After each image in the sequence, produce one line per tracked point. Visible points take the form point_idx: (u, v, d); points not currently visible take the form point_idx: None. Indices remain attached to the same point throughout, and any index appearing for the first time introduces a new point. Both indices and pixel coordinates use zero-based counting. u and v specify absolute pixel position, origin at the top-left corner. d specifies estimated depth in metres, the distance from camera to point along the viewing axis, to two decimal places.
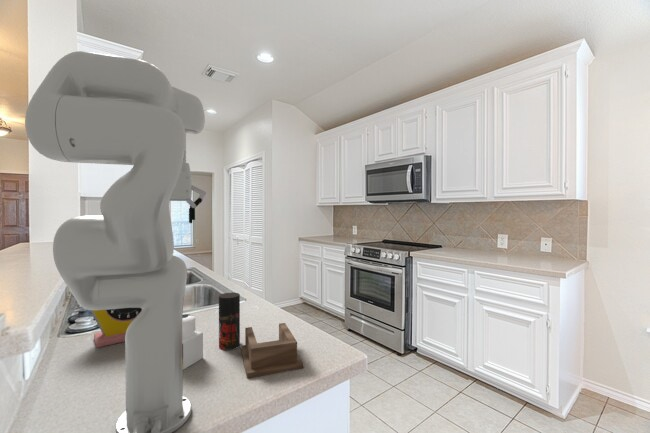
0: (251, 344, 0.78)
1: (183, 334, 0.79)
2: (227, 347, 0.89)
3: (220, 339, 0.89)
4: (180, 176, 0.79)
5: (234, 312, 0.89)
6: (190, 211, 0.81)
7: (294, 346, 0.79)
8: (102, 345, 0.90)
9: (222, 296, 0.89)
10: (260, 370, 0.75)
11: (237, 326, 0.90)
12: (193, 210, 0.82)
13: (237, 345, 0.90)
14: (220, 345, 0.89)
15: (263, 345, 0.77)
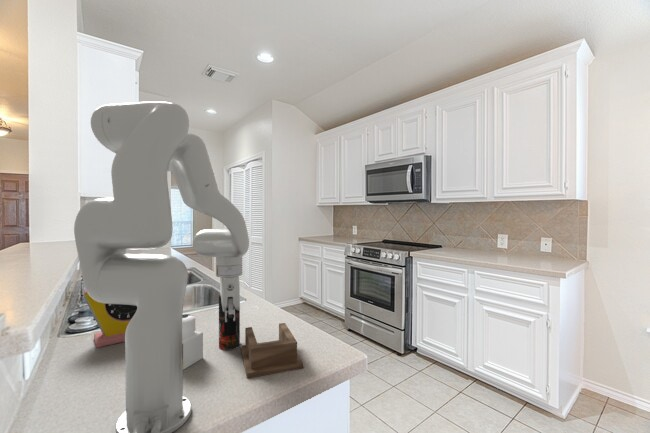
0: (251, 344, 0.78)
1: (183, 334, 0.79)
2: (227, 347, 0.89)
3: (220, 339, 0.89)
4: None
5: None
6: None
7: (294, 346, 0.79)
8: (102, 345, 0.90)
9: None
10: (260, 370, 0.75)
11: (237, 326, 0.90)
12: None
13: (237, 345, 0.90)
14: (220, 345, 0.89)
15: (263, 345, 0.77)
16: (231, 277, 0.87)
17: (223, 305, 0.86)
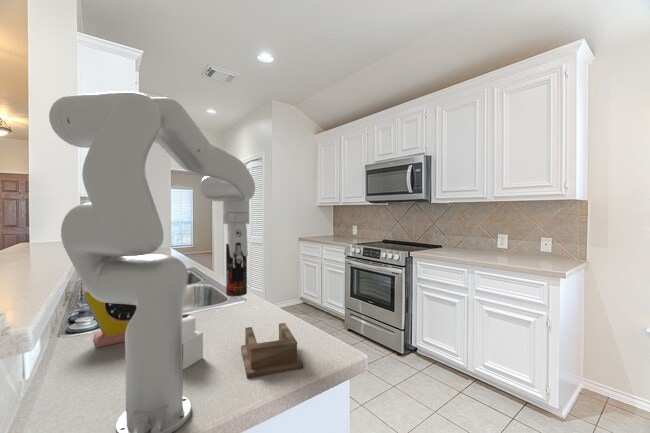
0: (251, 344, 0.78)
1: (183, 334, 0.79)
2: (235, 293, 0.90)
3: (228, 286, 0.90)
4: None
5: None
6: None
7: (294, 346, 0.79)
8: (102, 345, 0.90)
9: None
10: (260, 370, 0.75)
11: (244, 274, 0.91)
12: None
13: (244, 292, 0.92)
14: (228, 292, 0.90)
15: (263, 345, 0.77)
16: (239, 224, 0.88)
17: (231, 251, 0.87)
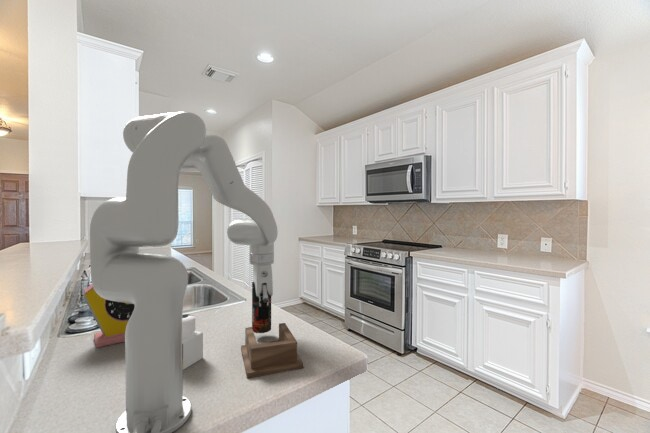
0: (251, 344, 0.78)
1: (183, 334, 0.79)
2: (260, 330, 0.94)
3: (254, 323, 0.95)
4: None
5: None
6: None
7: (294, 346, 0.79)
8: (102, 345, 0.90)
9: None
10: (260, 370, 0.75)
11: (269, 311, 0.96)
12: None
13: (269, 329, 0.96)
14: (254, 329, 0.95)
15: (263, 345, 0.77)
16: (265, 264, 0.93)
17: (258, 290, 0.92)
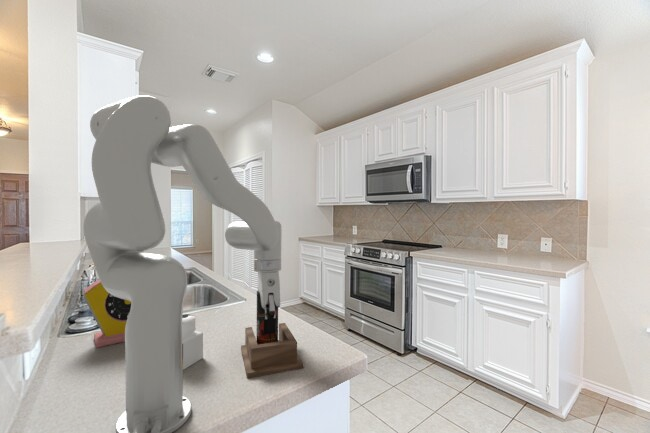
0: (251, 344, 0.78)
1: (183, 334, 0.79)
2: None
3: (258, 338, 0.84)
4: None
5: None
6: None
7: (294, 346, 0.79)
8: (102, 345, 0.90)
9: None
10: (260, 370, 0.75)
11: (276, 324, 0.86)
12: None
13: None
14: (258, 344, 0.84)
15: (263, 345, 0.77)
16: (271, 272, 0.83)
17: (263, 301, 0.81)
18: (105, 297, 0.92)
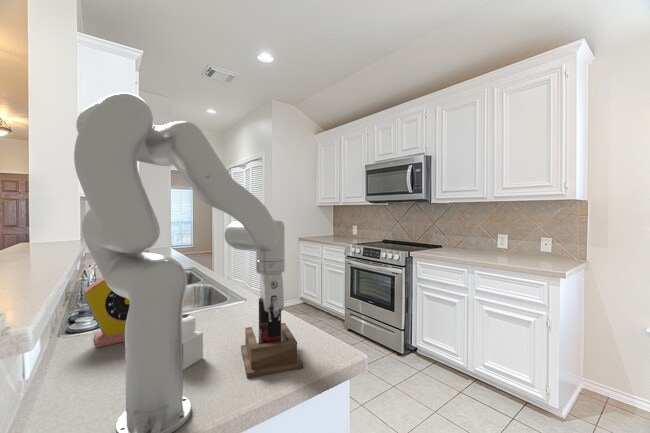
0: (251, 344, 0.78)
1: (183, 334, 0.79)
2: None
3: None
4: None
5: None
6: None
7: (294, 346, 0.79)
8: (102, 345, 0.90)
9: None
10: (260, 370, 0.75)
11: None
12: None
13: None
14: None
15: (263, 345, 0.77)
16: (274, 274, 0.79)
17: (266, 305, 0.78)
18: (105, 297, 0.92)
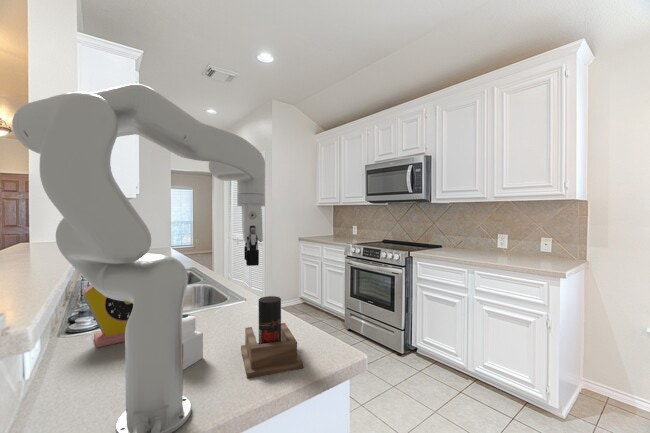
0: (251, 344, 0.78)
1: (183, 334, 0.79)
2: None
3: None
4: None
5: (276, 318, 0.81)
6: None
7: (294, 346, 0.79)
8: (102, 345, 0.90)
9: (263, 301, 0.81)
10: (260, 370, 0.75)
11: (279, 333, 0.82)
12: None
13: None
14: None
15: (263, 345, 0.77)
16: (253, 205, 0.82)
17: (245, 234, 0.81)
18: (105, 297, 0.92)
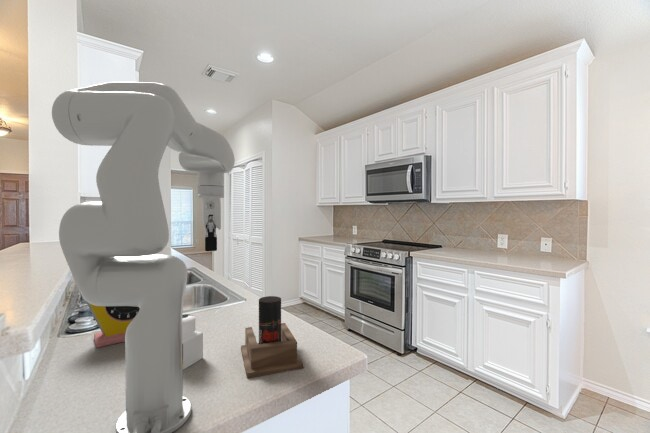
0: (251, 344, 0.78)
1: (183, 334, 0.79)
2: None
3: None
4: None
5: (276, 318, 0.81)
6: (216, 237, 0.99)
7: (294, 346, 0.79)
8: (102, 345, 0.90)
9: (263, 301, 0.81)
10: (260, 370, 0.75)
11: (279, 333, 0.82)
12: None
13: None
14: None
15: (263, 345, 0.77)
16: (212, 196, 0.90)
17: (204, 222, 0.89)
18: None
